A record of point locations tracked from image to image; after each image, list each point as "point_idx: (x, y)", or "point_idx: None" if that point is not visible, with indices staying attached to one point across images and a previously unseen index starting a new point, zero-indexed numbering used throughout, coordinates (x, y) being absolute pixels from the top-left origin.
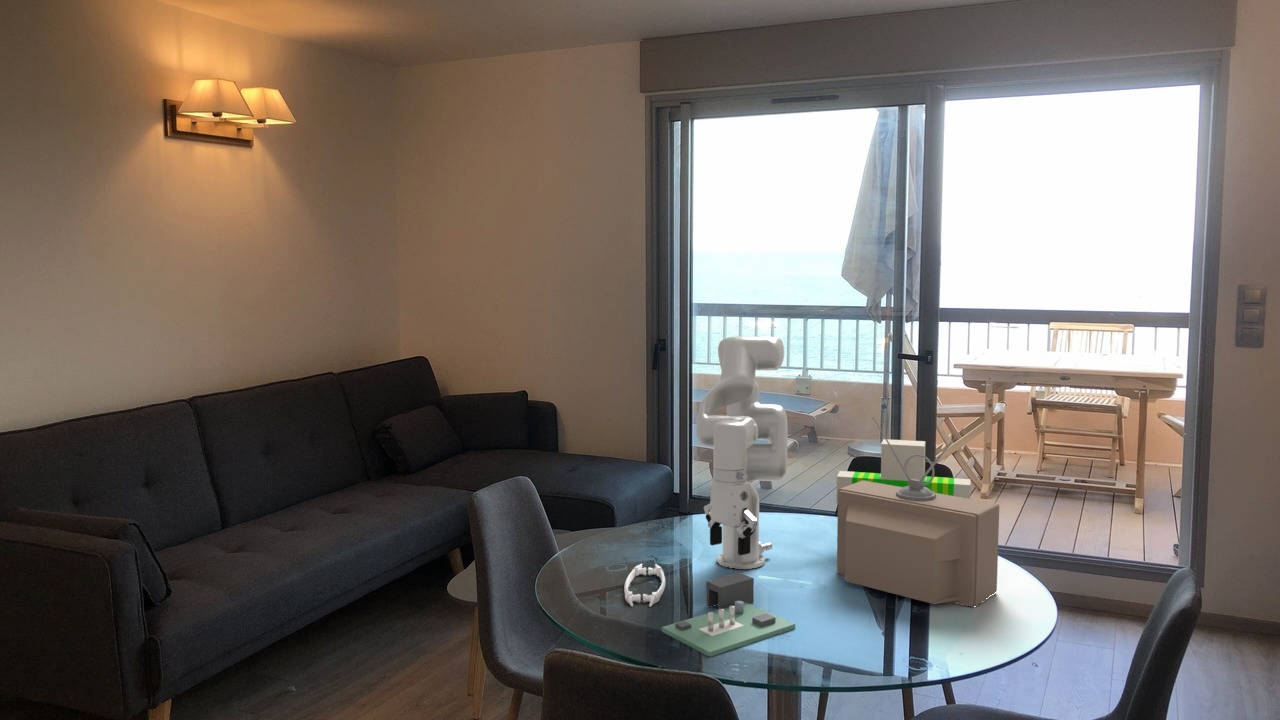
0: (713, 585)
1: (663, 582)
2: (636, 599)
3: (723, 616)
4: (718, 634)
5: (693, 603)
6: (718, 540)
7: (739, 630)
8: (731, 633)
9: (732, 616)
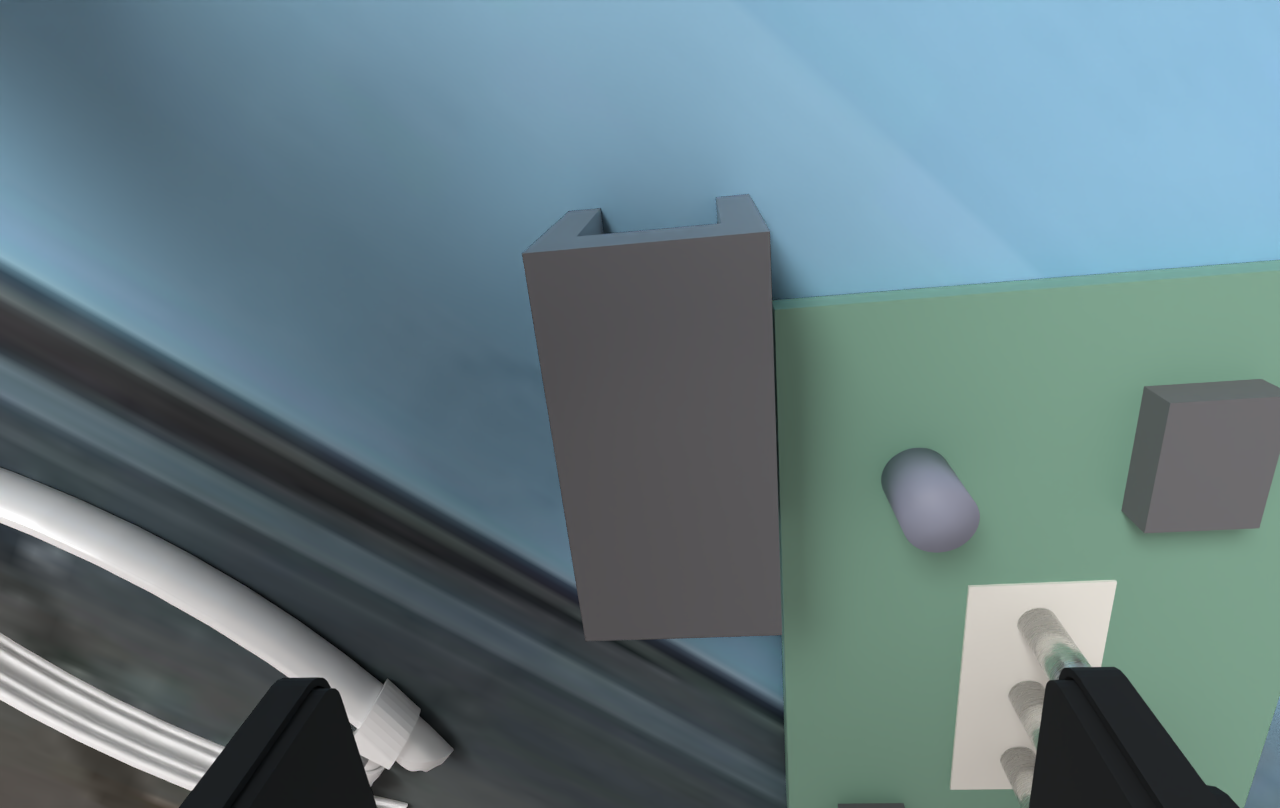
0: (683, 631)
1: (181, 599)
2: None
3: None
4: None
5: (523, 553)
6: (325, 792)
7: (1143, 640)
8: None
9: None
